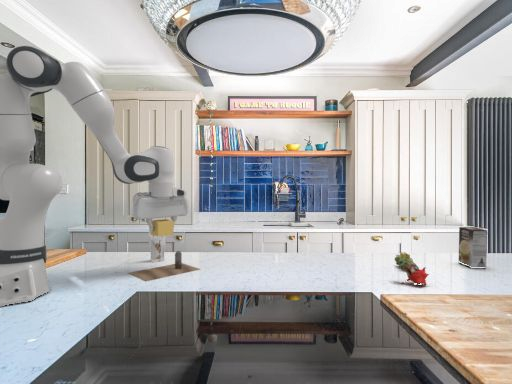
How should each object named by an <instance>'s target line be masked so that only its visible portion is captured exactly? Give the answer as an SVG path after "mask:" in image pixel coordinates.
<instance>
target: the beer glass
mask: <svg viewBox="0 0 512 384" xmlns="http://www.w3.org/2000/svg"><path fill="white" fill-rule="evenodd" d="M166 242H167V235H165V236H154V235H151V234H150V231H149V230H148V246H149V250H150V251H149V252H150V262H151V263H162V262H164V261H165V250H166V244H167V243H166Z"/></svg>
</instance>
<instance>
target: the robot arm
mask: <svg viewBox="0 0 512 384" xmlns="http://www.w3.org/2000/svg"><path fill="white" fill-rule="evenodd" d="M5 64H6V69H7V72H6V73H3V74H0V200H2V201H9V203H8V205H7V206H8V207H7V210H6V212H5V214H4V216H3V217H2V218H1V219H0V307H6V306H5V305H7V306H10V305H9V304H13V305H15V304H14V303H20V304H22V303H21V302H26V303H29V302H28V301H31V302H33V301H35V300H36V299H37V298H36V297H38V296H40V295H42V294H44V293H46V294H48V293H49V292H51V290H52V289H51V285H50V283H49V279H48V273H47V267H46V266H47V265H46V263H47V258H48V257H47V255H48V254H47V253H48V252H47V251H48V250H47V245H45V229H46V228H45V227H46V226H45V225H46V218H47V217H46V216H47V214H48V210H49V208H50V205H51V203H52V201H53V200H54V199H55V198H56V196H58V195H59V194H60V192H61V190H62V187H63V179H62V176H61V174H60V172H59V171H58V170H57V169H55V168H54V167H52V166H48V165H45V164H40V163H30V155H31V152H32V150H33V148H34V147H35V145H36V142H37V138H36V137H37V136H36V133H35V127H34V122H33V116H32V112H31V107H30V98H32V97H35V96H38V95H43V94H45V93H49V92H50V91H52V90H55V91H57V92H59V93H60V94H61V95H63V97H64V98H65V99H66V101H67V102H68V104H69V105H70V107H71V108H72V109H73V111H74V112H75V114H76V115H77V116H78V117H79V119H81V121H82V122H83V124H85V126H86V127H87V128H88V130H90V132H91V133H92V135H94V136H95V138H96V140H97V141H98V143H99V144H100V146H101V147H102V149H103V150H104V152H105V154H106V156H108V159H109V160H110V162H111V166H112V171H113V174H114V177H115V178H116V180H118V181H119V182H120V183H123V184H126V185H131V184H137V183H139V184H140V183H144V182H148V192H137V193H135V194H134V196H132V197H133V198H132V203H133V208H132V217H133V218H134V219H135V220H136V221H137V220H138V221H140V220H145V223H146V224H147V226H148V232H149V231H155V226H153V225H152V223H151V222H152V220H154V219H162V218H163V219H165V218H170V220H173V230H174V229H175V223H176V222H177V219H178V217H184V216H187V215H188V213H189V202H188V199H187V197H186V196H187V191H186V190H185V189H182V188H178V187H176V186H175V181H174V178H173V177H174V173H175V166H174V165H175V164H174V157H173V152H172V150H170V149H169V147H165V146H160V145H153V146H152V145H151V146H150V147H149V148H147V149H145V150H144V151H141V152H139V153H135V154H130V153H129V152H128V151H127V149H126V148H125V146H124V144H123V143H122V141H121V140H120V138H119V136H118V135H117V133H116V130H115V126H114V124H115V123H114V119H115V111H116V110H115V108H114V105H113V103H112V101H111V99H110V97H109V95H108V93H107V91H105V89H104V88H103V86H102V85H101V83H100V82H99V80H98V79H97V78H96V77H95V76H94V74H93V73H92V72H91V71H90V70H89V68H87V67H86V66H85V65H84V64H83V63H81V62H78V61H69V62H68V61H67V62H65V63H62V64H61V63H60V61H59V60H57V59H56V58H54V57H53V56H51V55H49V54H47V53H46V52H45V51H42V50H41V49H38V48H36V47H34V46H30V45H20V46H16V47H14V48H13V49H12V50H10V51H9V52H8V54H7V56H6V60H5ZM50 289H51V290H50ZM48 291H49V292H48ZM47 292H48V293H47ZM44 295H45V294H44ZM42 296H43V295H42ZM40 297H41V296H40ZM35 298H36V299H35ZM38 298H39V297H38ZM34 299H35V300H34ZM32 300H33V301H32Z"/></svg>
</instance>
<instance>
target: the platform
mask: <svg viewBox="0 0 512 384" xmlns="http://www.w3.org/2000/svg"><path fill="white" fill-rule="evenodd" d="M395 256H396V257H398V256H404V257H405V258H407V259H409V260H412V261H413V262H414V259H413V258H412V257H411V255H410V254H408V253H407V252H404V251H403V252H402V251H400V252H399V254H396V255H395Z"/></svg>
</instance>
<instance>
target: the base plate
mask: <svg viewBox="0 0 512 384" xmlns="http://www.w3.org/2000/svg"><path fill="white" fill-rule="evenodd" d="M182 262H183V261H182V252H181V251H180V250H177V251H175V253H174V263H173V264H166V265H162V266H157V267H151V268H146V269H142V270H137V271H132V272H131V271H130V272H127V274H129V275H131V276H133V277H135V278H137V279H138V280H139V279H140V280H142V281H144V282H151V281H154V280H159V279H163V278H169V277H173V276H177V275H182V274H185V273H186V274H187V273H192V272H195V271H200V270H201V268H200V267H199V268H198V267H196V266H192V265H189V264H186V263H182Z"/></svg>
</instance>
